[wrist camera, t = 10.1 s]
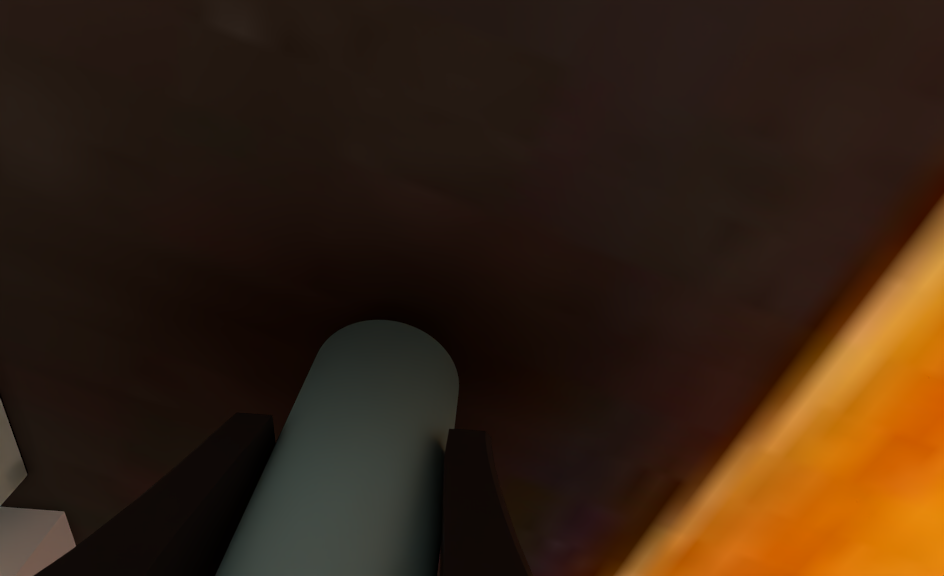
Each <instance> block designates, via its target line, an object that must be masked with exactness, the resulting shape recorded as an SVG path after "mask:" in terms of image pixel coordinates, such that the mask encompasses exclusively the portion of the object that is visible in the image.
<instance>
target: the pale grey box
mask: <svg viewBox="0 0 944 576" xmlns="http://www.w3.org/2000/svg"><path fill="white" fill-rule="evenodd" d="M74 547H76V545H75V542H74V539H73V536H72V533H71V530H70V527H69V524H68V521H67V518H66V515H65V512H64V511H51V510H38V509H25V508H12V507H0V576H34V575H35V574H37V573H38V572H40V571H41V570H43V569H44V568H46V567H47V566H49V565H50V564H52V563H53V562H54V561H56V560H57V559H59V558H60V557H62V556H63V555H64V554H66V553H67V552H69V551H70V550H72V549H73V548H74Z"/></svg>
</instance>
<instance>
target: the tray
mask: <svg viewBox="0 0 944 576" xmlns="http://www.w3.org/2000/svg"><path fill="white" fill-rule="evenodd" d="M26 476H27V472H26V469H25V466H24V464H23V461H22V458H21V455H20V452H19V450H18V447H17V444H16V441H15V438H14V435H13V433H12V430H11V427H10V424H9V421H8V419H7V416H6V413H5V410H4V407H3V404H2V402H1V399H0V506H1V505H2V503H3V502H4V501H5V500H6V499H7V498H8V497H9V496H10V494H11V493H12V492H13V491H14V490H15V489H16V488H17V487H18V485H19V484H20V483H21V482H22V481H23V480H24V479H25V477H26Z"/></svg>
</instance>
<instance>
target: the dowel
mask: <svg viewBox="0 0 944 576" xmlns="http://www.w3.org/2000/svg"><path fill="white" fill-rule="evenodd" d="M458 393H459V378H458V373H457V370H456V367H455V364H454V362H453V361H452V359H451V357H450V355H449V354H448V353H447V351H446V350H445V349H444V348H443V347H442V346H441V344H440V343H439V342H437V341H436V340H435V339H434V338H433V337H431V336H430V335H428V334H427V333H425V332H424V331H422V330H420V329H418V328H416V327H413V326H410V325H408V324H405V323H401V322H397V321H390V320H367V321H362V322H357V323H354V324H351V325H348V326H346V327H344V328H342V329H340V330H338V331H337V332H336V333H334V334H333V335H331V336H330V337H329V338H328V339H327V340H326V341H325V343H324V344H323V345H322V346H321V348H320V350H319V352H318V353H317V355H316V358H315V360H314V362H313V364H312V366H311V368H310V371H309V373H308V375H307V377H306V379H305V381H304V384H303V386H302V388H301V390H300V392H299V394H298V397H297V399H296V401H295V403H294V405H293V407H292V410H291V412H290V414H289V416H288V418H287V421H286V423H285V425H284V427H283V429H282V431H281V434H280V436H279V438H278V440H277V442H276V444H275V447H274V449H273V451H272V453H271V455H270V457H269V460H268V462H267V464H266V466H265V468H264V470H263V473H262V475H261V477H260V479H259V481H258V484H257V486H256V488H255V490H254V492H253V494H252V497H251V499H250V501H249V503H248V505H247V507H246V510H245V512H244V514H243V516H242V518H241V520H240V523H239V525H238V527H237V529H236V531H235V533H234V536H233V538H232V540H231V542H230V544H229V546H228V549H227V551H226V553H225V555H224V557H223V560H222V562H221V564H220V566H219V568H218V570H217V573H216V575H215V576H437V571H438V562H439V554H440V545H441V537H442V498H443V473H444V456H445V449H446V443H447V438H448V432H449V429H454V427H455V419H456V410H457V402H458Z"/></svg>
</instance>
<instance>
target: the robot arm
mask: <svg viewBox="0 0 944 576" xmlns="http://www.w3.org/2000/svg"><path fill="white" fill-rule="evenodd" d="M274 447H275V435H274V427H273V418H272V415H261V414H248V413H236V414H235V415H234V416H233V417H231V418H230V419H229V420H228V421H227V422H225V423H224V424H223V425H222V426H221V427H220V428H218V429H217V430H216V431H215V432H214V433H213V434H212V435H211V436H209V437H208V438H207V439H206V440H205V441H204V442H203V443H202V444H200V445H199V446H198V447H197V448H196V449H195V450H194V451H192V452H191V453H190V454H189V455H188V456H187V457H186V458H184V459H183V460H182V461H181V462H180V463H179V464H178V465H177V466H175V467H174V468H173V469H172V470H171V471H170V472H168V473H167V474H166V475H165V476H164V477H162V478H161V479H160V480H159V481H158V482H157V483H155V484H154V485H153V486H152V487H151V488H149V489H148V490H147V491H146V492H145V493H143V494H142V495H141V496H140V497H139V498H138V499H136V500H135V501H134V502H133V503H131V504H130V505H129V506H128V507H126V508H125V509H124V510H123V511H121V512H120V513H119V514H117V515H116V516H115V517H114V518H112V519H111V520H110V521H108V522H107V523H106V524H105V525H103V526H102V527H101V528H99V529H98V530H97V531H96V532H94V533H93V534H92V535H90V536H89V537H88V538H87V539H85V540H84V541H82V542H81V543H80V544H78V545H77V546H76V547H74V548H73V549H72V550H70V551H69V552H67V553H66V554H64V555H63V556H62V557H60V558H59V559H57V560H56V561H54V562H53V563H52V564H50V565H49V566H47V567H46V568H44V569H43V570H41V571H40V572H38V573H37V574H35V575H34V576H215V575H216V573H217V570H218V568H219V566H220V564H221V562H222V560H223V557H224V555H225V553H226V551H227V549H228V546H229V544H230V542H231V540H232V538H233V536H234V533H235V531H236V529H237V527H238V525H239V523H240V520H241V518H242V516H243V514H244V512H245V510H246V507H247V505H248V503H249V501H250V499H251V497H252V494H253V492H254V490H255V488H256V486H257V484H258V481H259V479H260V477H261V475H262V473H263V470H264V468H265V466H266V464H267V462H268V460H269V457H270V455H271V453H272V451H273V449H274ZM440 576H533V574H532V572H531V570H530V568H529V565H528V563H527V561H526V558H525V556H524V554H523V551H522V549H521V546H520V543H519V541H518V538H517V536H516V533H515V530H514V527H513V525H512V522H511V519H510V516H509V513H508V510H507V508H506V505H505V501H504V498H503V495H502V492H501V488H500V484H499V481H498V477H497V473H496V469H495V464H494V459H493V453H492V445H491V437H490V436H489V435H488V434H487V433H486V432H485V431H476V430H462V429H449V432H448V438H447V443H446V449H445V456H444V473H443V498H442V537H441V549H440Z"/></svg>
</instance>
